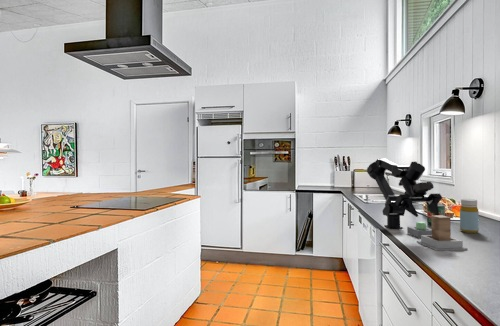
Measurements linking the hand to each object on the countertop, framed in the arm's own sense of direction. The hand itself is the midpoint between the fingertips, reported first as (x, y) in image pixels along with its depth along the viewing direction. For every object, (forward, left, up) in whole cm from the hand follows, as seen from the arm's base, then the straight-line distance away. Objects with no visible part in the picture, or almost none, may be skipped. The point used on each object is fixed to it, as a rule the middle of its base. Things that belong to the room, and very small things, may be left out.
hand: (427, 216), depth 126 cm
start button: (-9, +3, -9) cm, 14 cm away
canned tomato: (-26, +22, -11) cm, 36 cm away
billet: (+8, 0, -10) cm, 12 cm away
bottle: (-13, +29, -11) cm, 34 cm away
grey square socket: (+8, 0, -10) cm, 13 cm away
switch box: (-10, +3, -10) cm, 14 cm away
